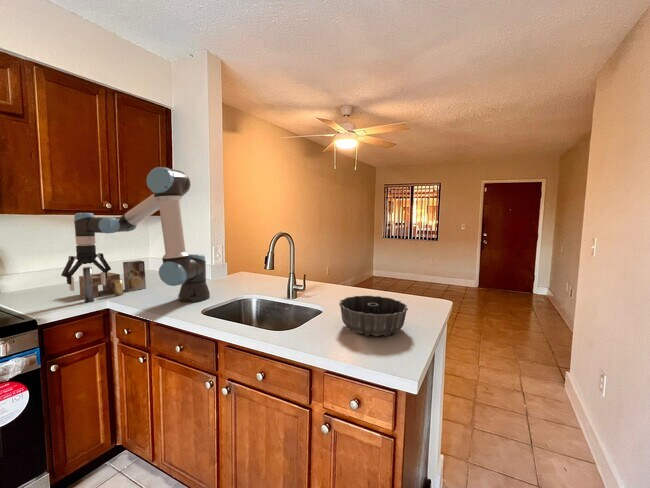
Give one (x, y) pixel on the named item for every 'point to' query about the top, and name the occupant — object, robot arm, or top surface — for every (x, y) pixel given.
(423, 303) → the top surface
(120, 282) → the short brass pin
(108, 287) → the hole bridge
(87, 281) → the tall steel pin
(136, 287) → the coffee box
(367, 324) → the bundt pan
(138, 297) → the top surface
